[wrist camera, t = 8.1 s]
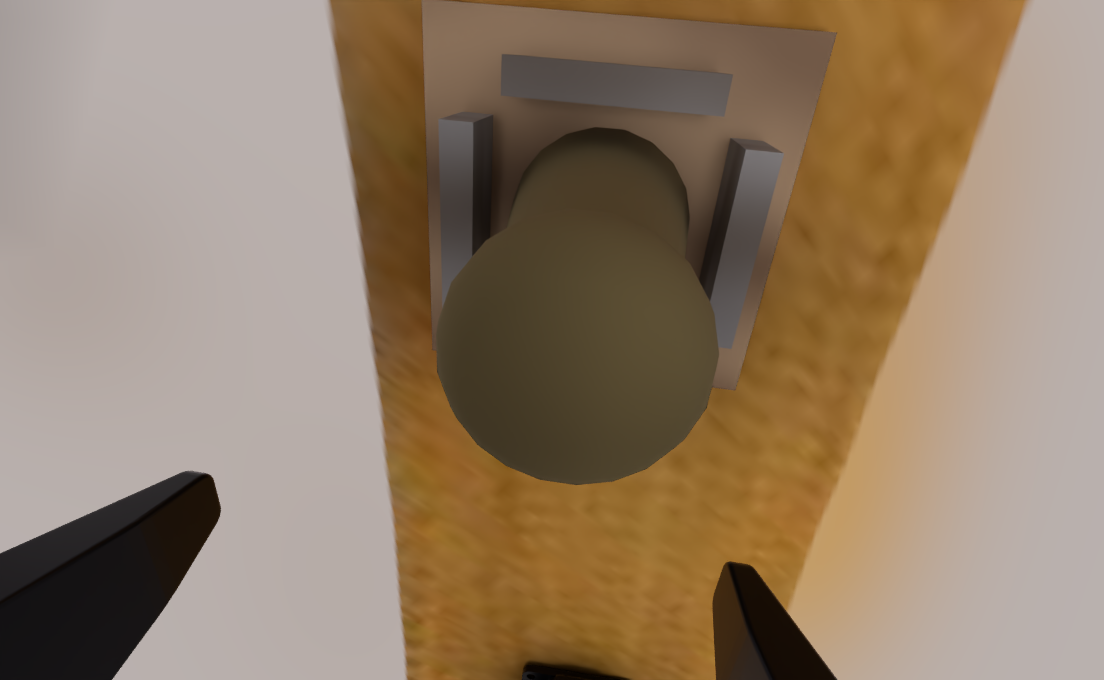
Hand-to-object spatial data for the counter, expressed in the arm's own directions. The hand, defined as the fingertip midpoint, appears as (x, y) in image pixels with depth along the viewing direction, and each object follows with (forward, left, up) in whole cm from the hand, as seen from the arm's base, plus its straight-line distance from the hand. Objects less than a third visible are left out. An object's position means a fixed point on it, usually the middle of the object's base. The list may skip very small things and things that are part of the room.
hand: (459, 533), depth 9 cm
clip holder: (+3, -1, -13) cm, 13 cm away
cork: (+3, -1, -12) cm, 12 cm away
